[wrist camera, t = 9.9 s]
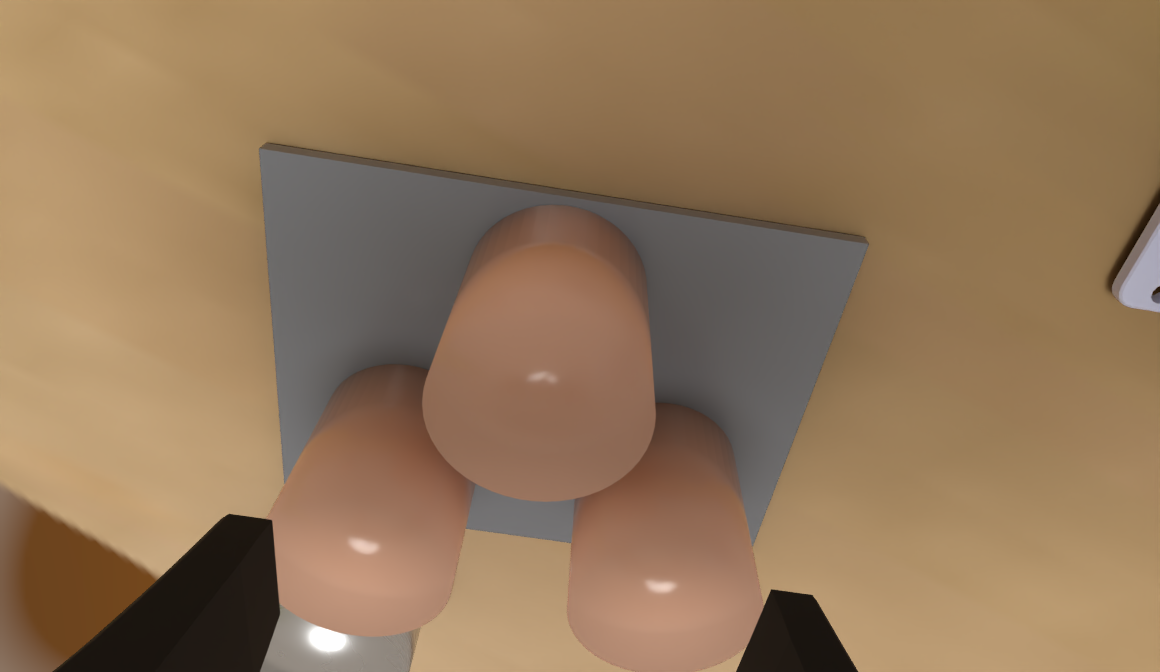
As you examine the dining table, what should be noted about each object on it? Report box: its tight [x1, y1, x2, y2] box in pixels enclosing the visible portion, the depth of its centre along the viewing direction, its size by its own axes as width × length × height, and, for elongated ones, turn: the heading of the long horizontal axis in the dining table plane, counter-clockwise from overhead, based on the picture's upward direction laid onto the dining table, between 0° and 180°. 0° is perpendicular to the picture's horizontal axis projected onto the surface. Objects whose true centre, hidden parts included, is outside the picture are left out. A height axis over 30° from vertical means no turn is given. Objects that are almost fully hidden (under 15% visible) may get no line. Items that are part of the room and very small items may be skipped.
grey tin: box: [260, 603, 421, 672], centre depth 23 cm, size 5×5×4 cm
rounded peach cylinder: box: [422, 205, 656, 502], centre depth 17 cm, size 4×4×5 cm
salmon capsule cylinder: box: [567, 403, 763, 672], centre depth 19 cm, size 4×4×5 cm
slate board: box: [259, 143, 869, 547], centre depth 20 cm, size 14×11×1 cm
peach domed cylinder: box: [266, 364, 476, 637], centre depth 19 cm, size 4×4×5 cm
